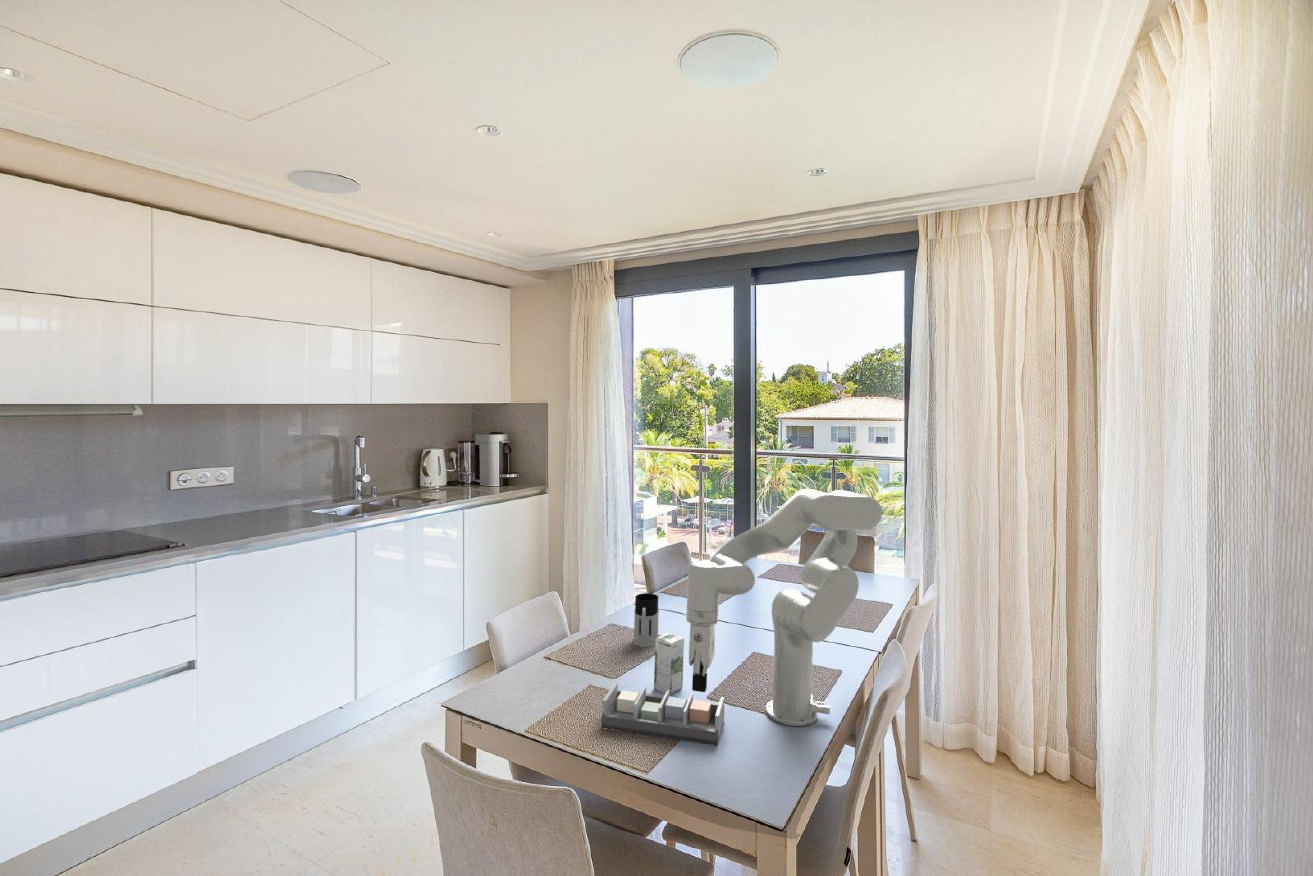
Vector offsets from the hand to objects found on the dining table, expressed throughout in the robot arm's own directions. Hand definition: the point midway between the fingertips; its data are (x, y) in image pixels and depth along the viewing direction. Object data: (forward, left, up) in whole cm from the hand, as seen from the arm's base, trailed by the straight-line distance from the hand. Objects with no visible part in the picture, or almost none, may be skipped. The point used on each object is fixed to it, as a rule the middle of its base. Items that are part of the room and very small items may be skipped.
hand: (699, 689), depth 148 cm
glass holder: (+26, -47, -10) cm, 55 cm away
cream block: (+18, 0, -7) cm, 19 cm away
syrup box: (+12, -19, -10) cm, 25 cm away
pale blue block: (+6, 0, -7) cm, 9 cm away
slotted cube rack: (+9, 0, -10) cm, 13 cm away
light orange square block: (0, 0, -7) cm, 7 cm away
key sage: (+12, 0, -9) cm, 15 cm away
